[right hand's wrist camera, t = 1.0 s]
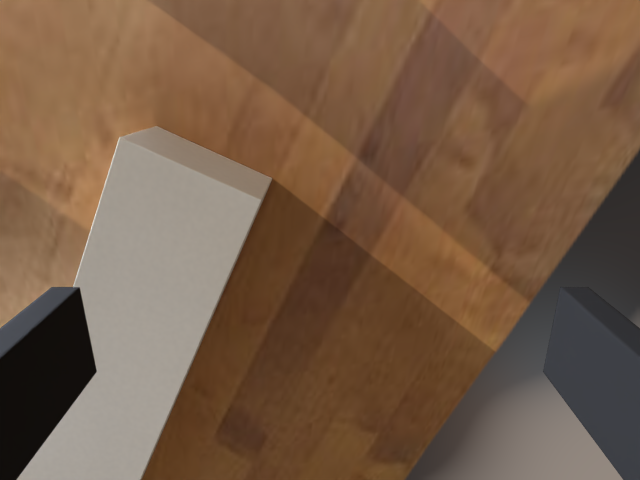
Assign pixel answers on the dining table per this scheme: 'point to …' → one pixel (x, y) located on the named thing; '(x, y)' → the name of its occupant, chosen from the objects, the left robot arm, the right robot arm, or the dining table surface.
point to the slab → (148, 297)
